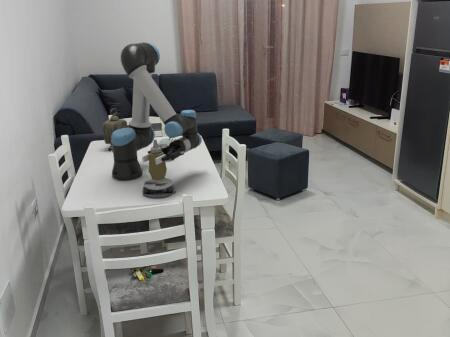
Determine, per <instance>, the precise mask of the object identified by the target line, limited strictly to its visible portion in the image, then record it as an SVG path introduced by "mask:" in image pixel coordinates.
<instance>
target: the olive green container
mask: <svg viewBox="0 0 450 337" xmlns="http://www.w3.org/2000/svg"><path fill="white" fill-rule="evenodd" d="M113 110H115V112H113ZM112 112H113V113H112ZM117 112H118V110H117V108H116V107H114V108H111V109H110V112H109V114H110V115H111V117H110V119H108V120H106V121H104V122H103V123H102V133H103V134H102V136H103V140H104V144H106V145H110V146H109V147H108V149H107V151H112V150H111V149H112V142H111V139H112V138H111V135H112V133H113V132H114V131H116V130H118V129H122V128H129V125H128V121H127V120H125V119H122V118H119V117H118V116H117Z"/></svg>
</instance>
